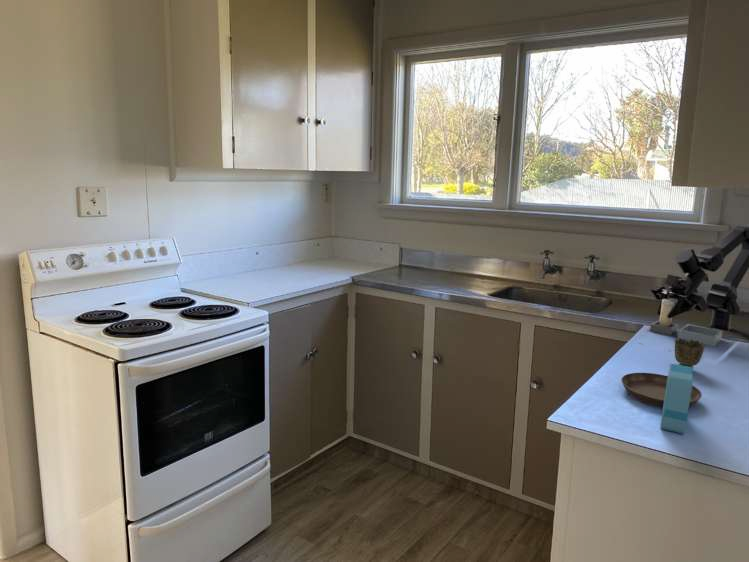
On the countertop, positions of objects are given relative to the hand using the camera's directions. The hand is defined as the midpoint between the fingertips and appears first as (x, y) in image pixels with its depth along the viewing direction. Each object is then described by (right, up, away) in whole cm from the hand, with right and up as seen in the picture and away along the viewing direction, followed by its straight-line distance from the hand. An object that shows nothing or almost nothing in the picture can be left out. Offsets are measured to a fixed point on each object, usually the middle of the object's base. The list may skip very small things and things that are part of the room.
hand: (663, 315), depth 192 cm
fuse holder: (+1, -6, +2) cm, 7 cm away
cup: (-10, -13, -32) cm, 36 cm away
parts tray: (+9, -8, -5) cm, 13 cm away
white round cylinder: (+1, -5, +2) cm, 6 cm away
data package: (-32, -20, -67) cm, 77 cm away
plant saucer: (-28, -17, -52) cm, 62 cm away
